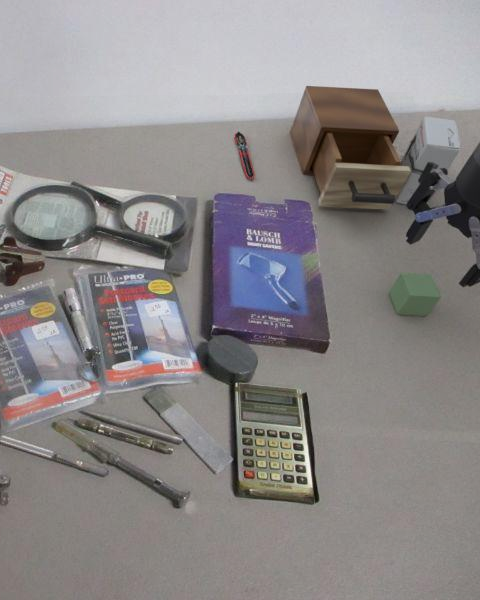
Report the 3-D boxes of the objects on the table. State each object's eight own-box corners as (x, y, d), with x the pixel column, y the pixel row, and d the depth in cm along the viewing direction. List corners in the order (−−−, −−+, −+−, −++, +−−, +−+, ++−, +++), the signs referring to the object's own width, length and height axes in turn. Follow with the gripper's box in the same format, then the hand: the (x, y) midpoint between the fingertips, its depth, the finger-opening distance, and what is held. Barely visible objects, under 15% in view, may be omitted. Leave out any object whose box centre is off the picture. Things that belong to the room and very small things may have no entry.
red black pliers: (245, 180, 101) (246, 177, 101) (232, 133, 110) (233, 130, 110) (256, 181, 101) (257, 178, 101) (242, 133, 111) (243, 130, 110)
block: (417, 293, 86) (431, 274, 83) (426, 316, 83) (441, 297, 80) (388, 292, 86) (401, 272, 83) (396, 314, 83) (410, 295, 80)
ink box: (392, 172, 104) (424, 113, 95) (422, 178, 103) (457, 119, 94) (394, 203, 99) (427, 143, 90) (425, 209, 98) (462, 149, 89)
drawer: (397, 227, 94) (420, 189, 88) (325, 224, 94) (343, 185, 88) (370, 166, 104) (389, 127, 98) (305, 162, 104) (320, 124, 98)
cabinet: (375, 178, 103) (399, 130, 96) (302, 174, 103) (321, 126, 96) (356, 136, 111) (378, 89, 104) (289, 132, 111) (306, 85, 104)
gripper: (436, 135, 68) (376, 237, 80) (549, 209, 60) (464, 309, 73) (478, 118, 71) (414, 220, 83) (593, 188, 63) (503, 288, 75)
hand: (438, 262), depth 78 cm, fingers open, 8 cm apart
